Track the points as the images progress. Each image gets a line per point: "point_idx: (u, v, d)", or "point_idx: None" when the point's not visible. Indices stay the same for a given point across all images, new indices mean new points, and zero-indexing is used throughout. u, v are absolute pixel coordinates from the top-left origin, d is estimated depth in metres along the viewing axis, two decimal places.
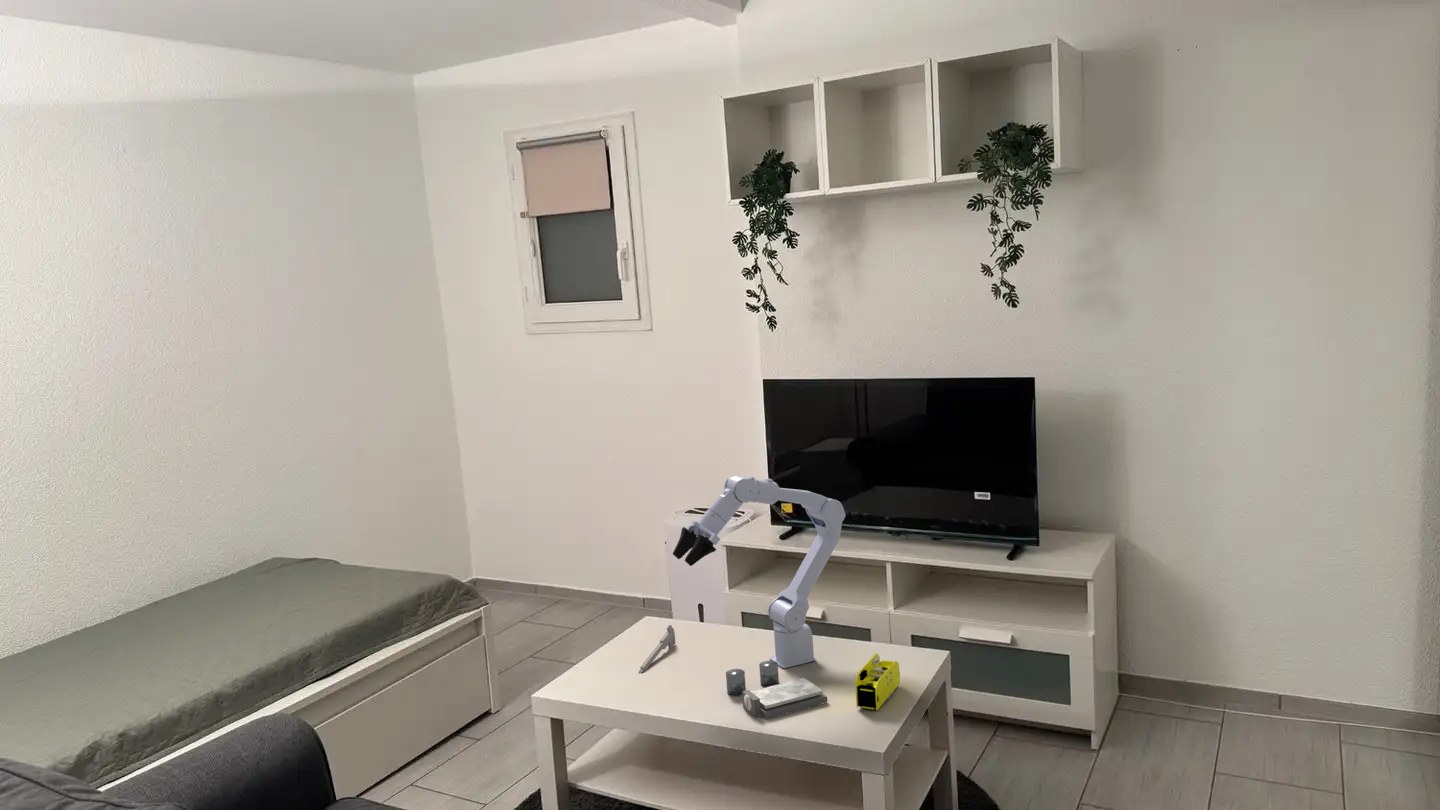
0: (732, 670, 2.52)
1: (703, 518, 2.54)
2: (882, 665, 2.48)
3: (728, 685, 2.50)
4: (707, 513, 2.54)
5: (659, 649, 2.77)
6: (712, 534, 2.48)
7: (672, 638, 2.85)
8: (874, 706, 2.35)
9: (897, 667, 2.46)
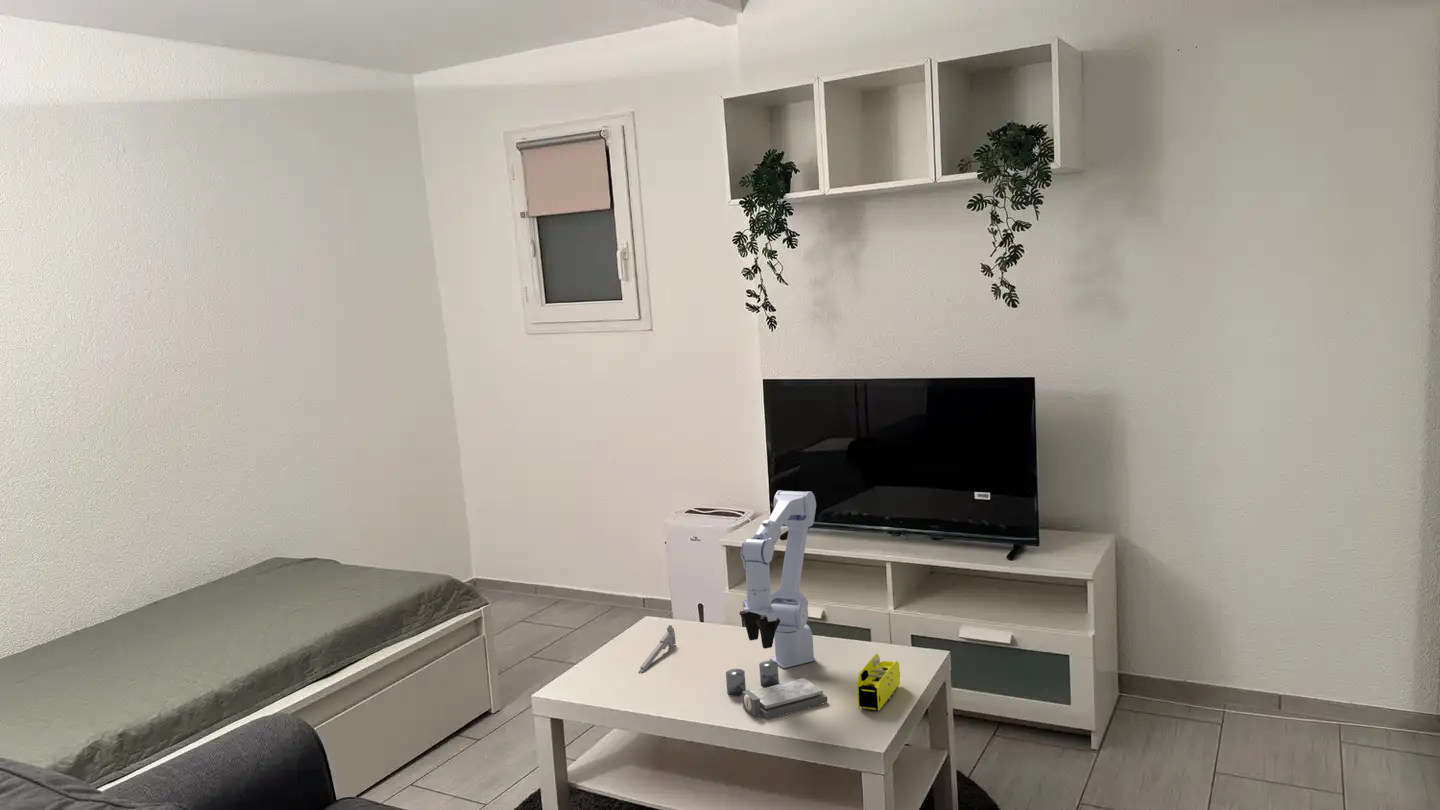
0: (732, 670, 2.52)
1: (749, 601, 2.50)
2: (882, 665, 2.48)
3: (728, 685, 2.50)
4: (748, 594, 2.50)
5: (659, 649, 2.77)
6: (767, 614, 2.45)
7: (672, 638, 2.85)
8: (876, 706, 2.34)
9: (897, 667, 2.46)
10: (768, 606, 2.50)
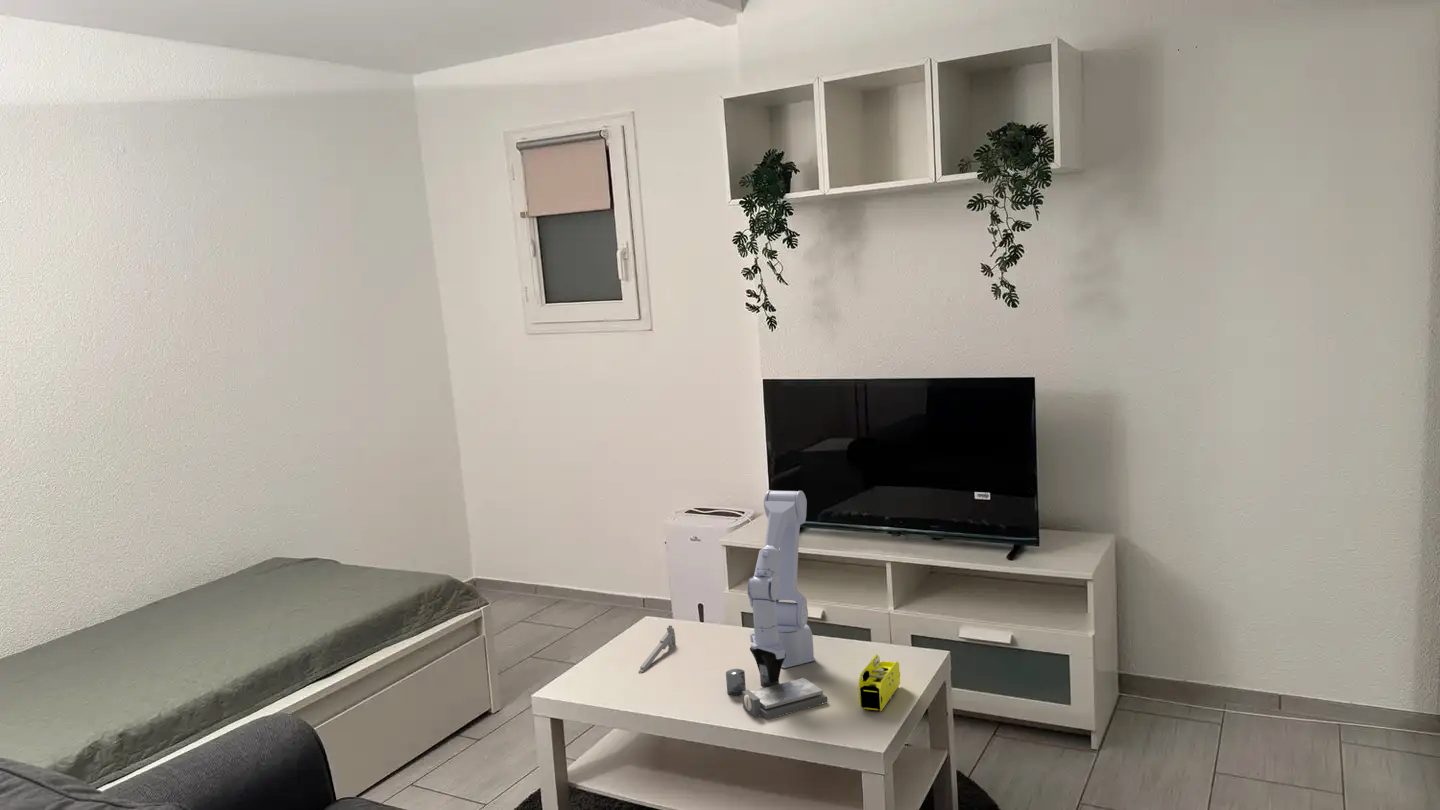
0: (732, 670, 2.52)
1: (757, 637, 2.52)
2: (882, 666, 2.48)
3: (728, 685, 2.50)
4: (756, 631, 2.51)
5: (659, 649, 2.77)
6: (775, 652, 2.47)
7: (672, 638, 2.85)
8: (878, 707, 2.34)
9: (897, 667, 2.46)
10: (776, 642, 2.52)
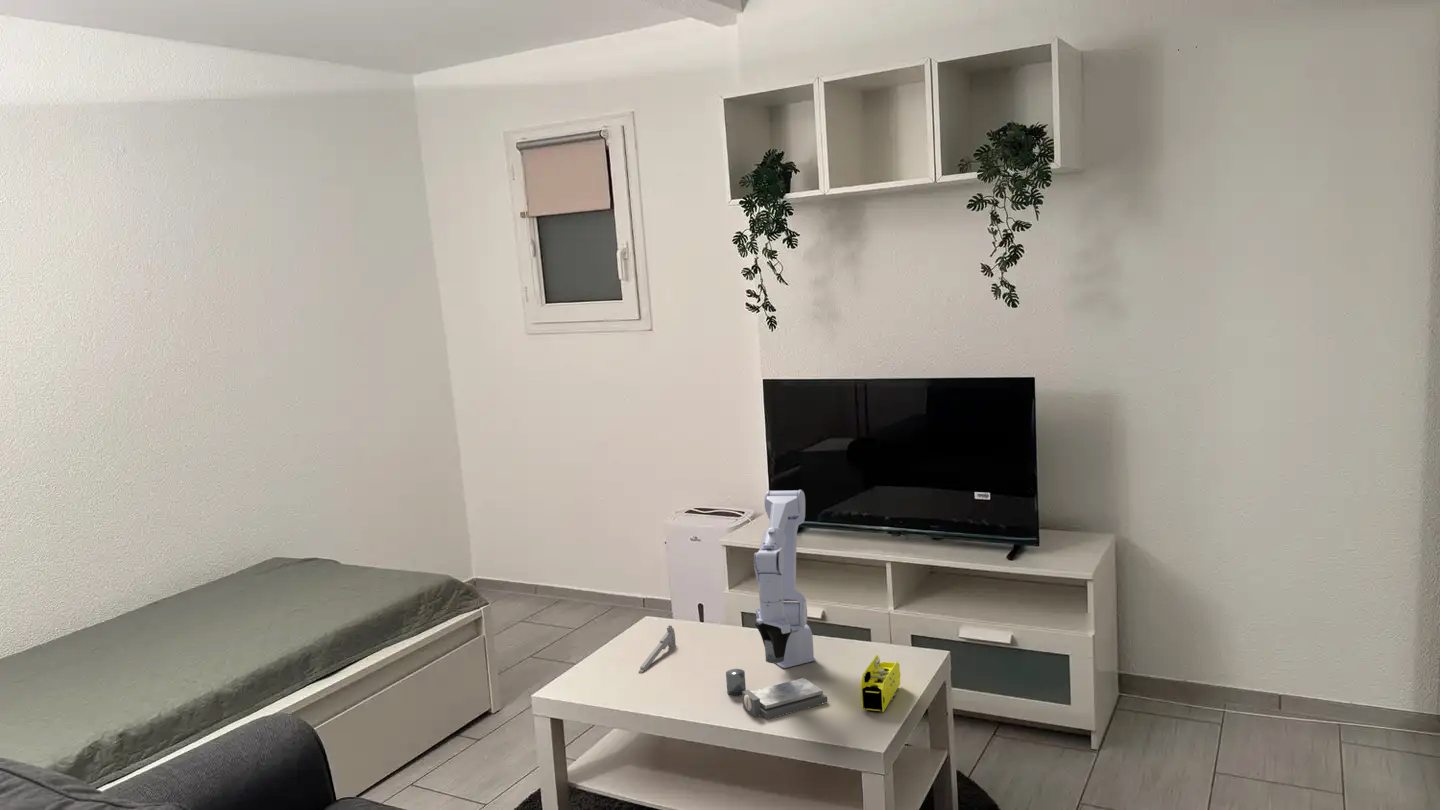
0: (732, 670, 2.52)
1: (762, 612, 2.48)
2: (882, 666, 2.47)
3: (728, 685, 2.50)
4: (762, 606, 2.48)
5: (659, 649, 2.77)
6: (780, 626, 2.44)
7: (672, 638, 2.85)
8: (880, 708, 2.34)
9: (898, 668, 2.46)
10: (782, 617, 2.48)
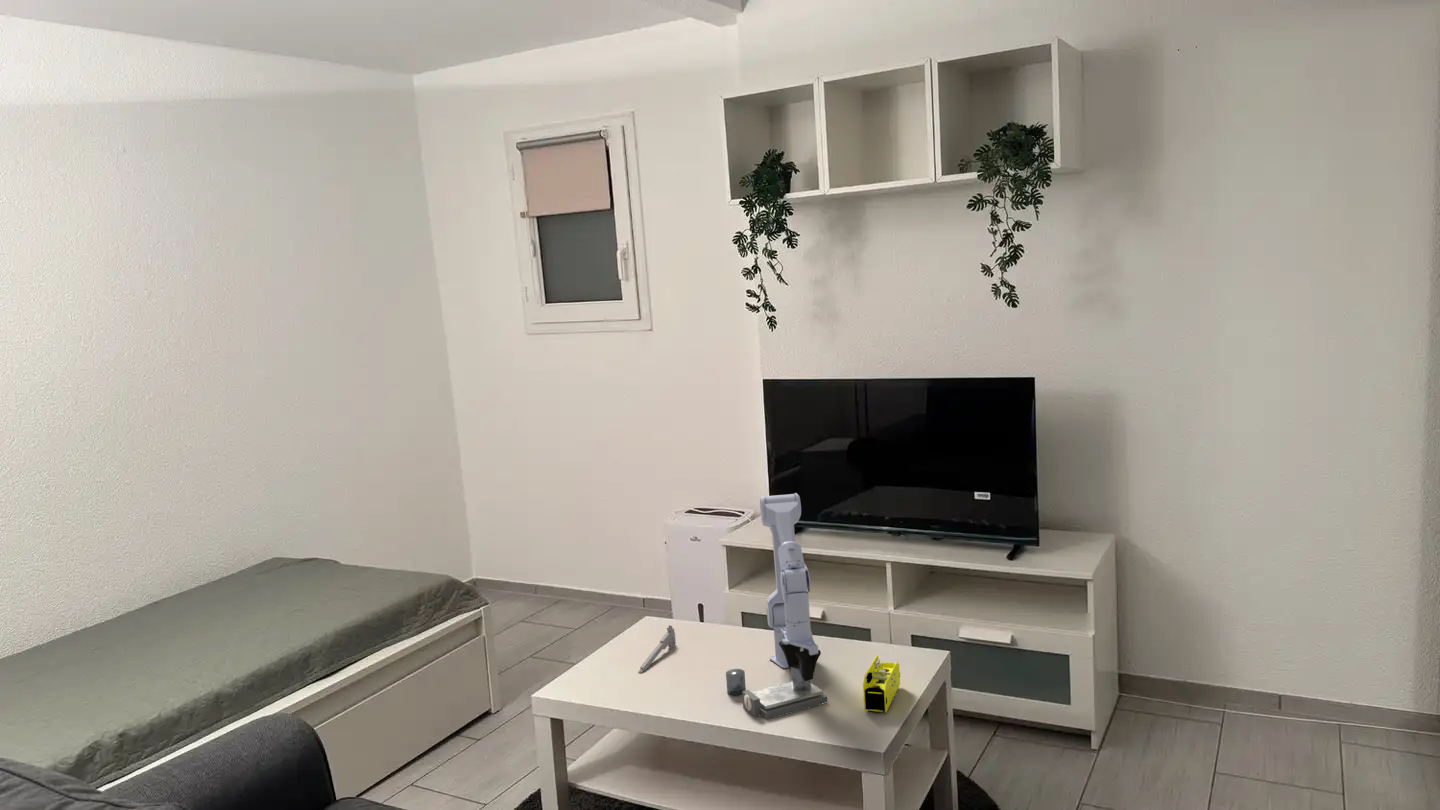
0: (732, 670, 2.52)
1: (788, 633, 2.41)
2: (882, 667, 2.47)
3: (728, 685, 2.50)
4: (788, 626, 2.41)
5: (659, 649, 2.77)
6: (808, 648, 2.37)
7: (672, 638, 2.85)
8: (883, 708, 2.33)
9: (898, 668, 2.46)
10: (808, 637, 2.41)
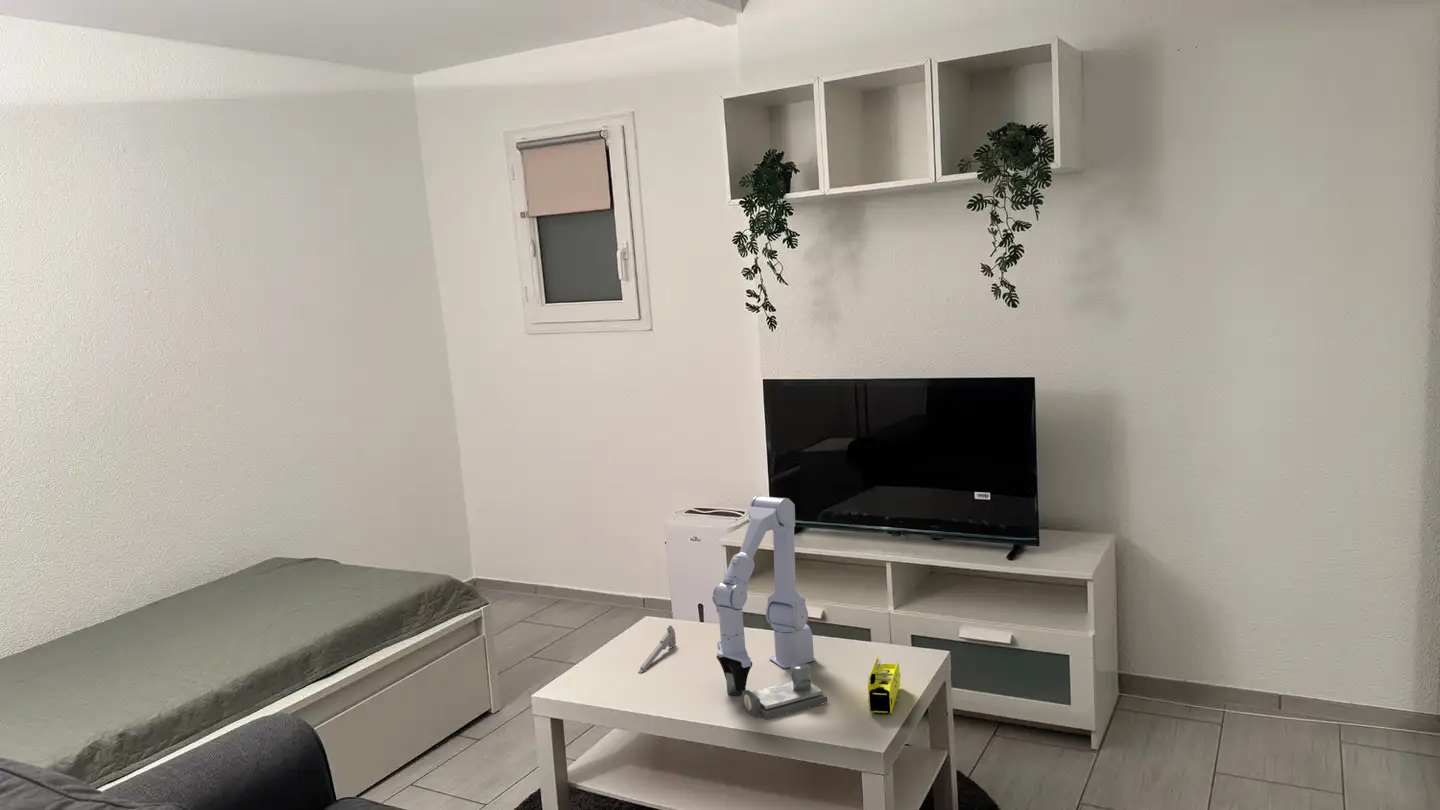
0: None
1: (723, 645, 2.48)
2: (882, 668, 2.46)
3: (728, 685, 2.50)
4: (722, 639, 2.48)
5: (659, 649, 2.77)
6: (741, 660, 2.44)
7: (672, 638, 2.85)
8: (888, 709, 2.32)
9: (898, 669, 2.45)
10: (742, 650, 2.48)
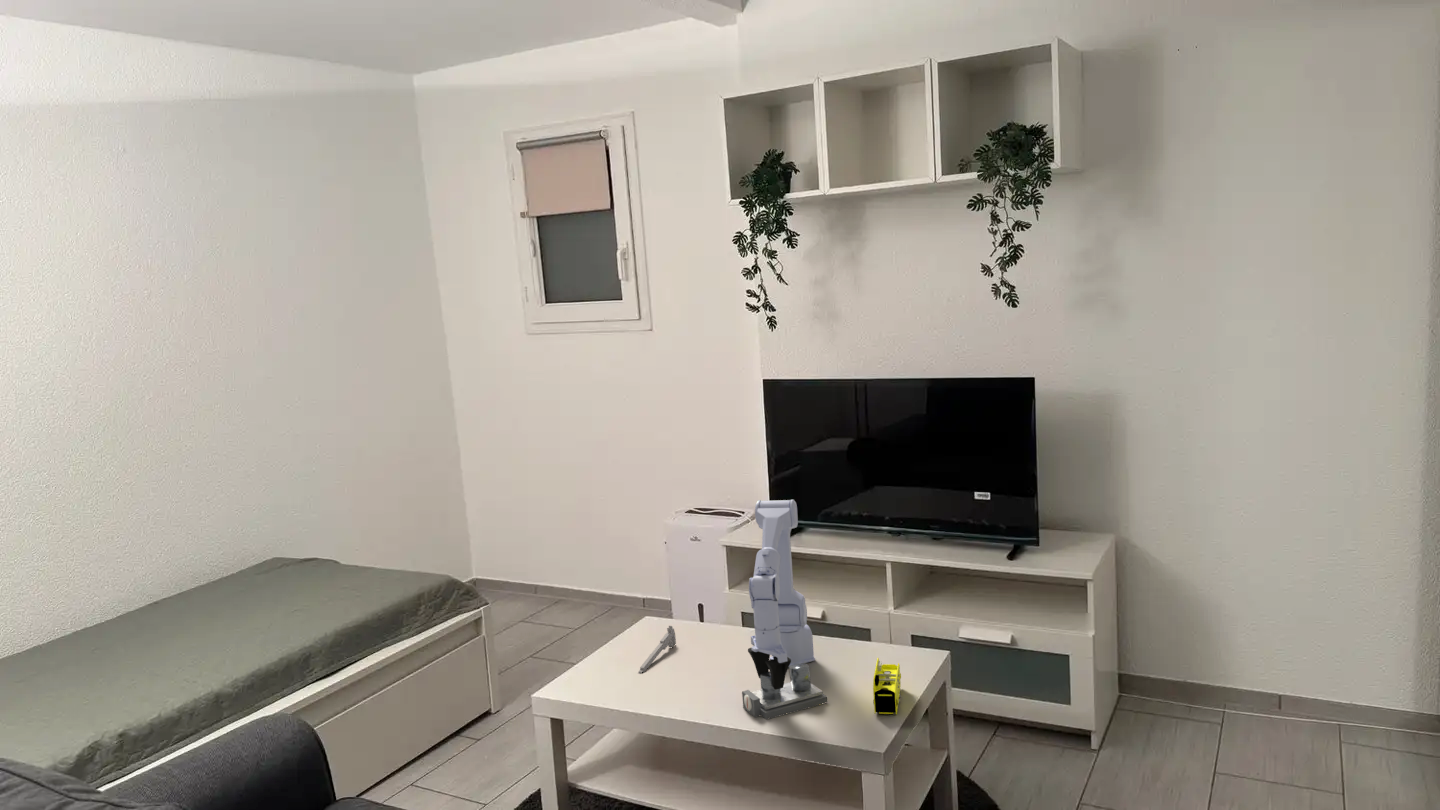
0: (766, 672, 2.42)
1: (757, 640, 2.38)
2: (883, 669, 2.46)
3: (762, 688, 2.40)
4: (757, 633, 2.38)
5: (659, 649, 2.77)
6: (777, 655, 2.34)
7: (672, 638, 2.85)
8: (893, 710, 2.32)
9: (899, 669, 2.45)
10: (778, 645, 2.38)
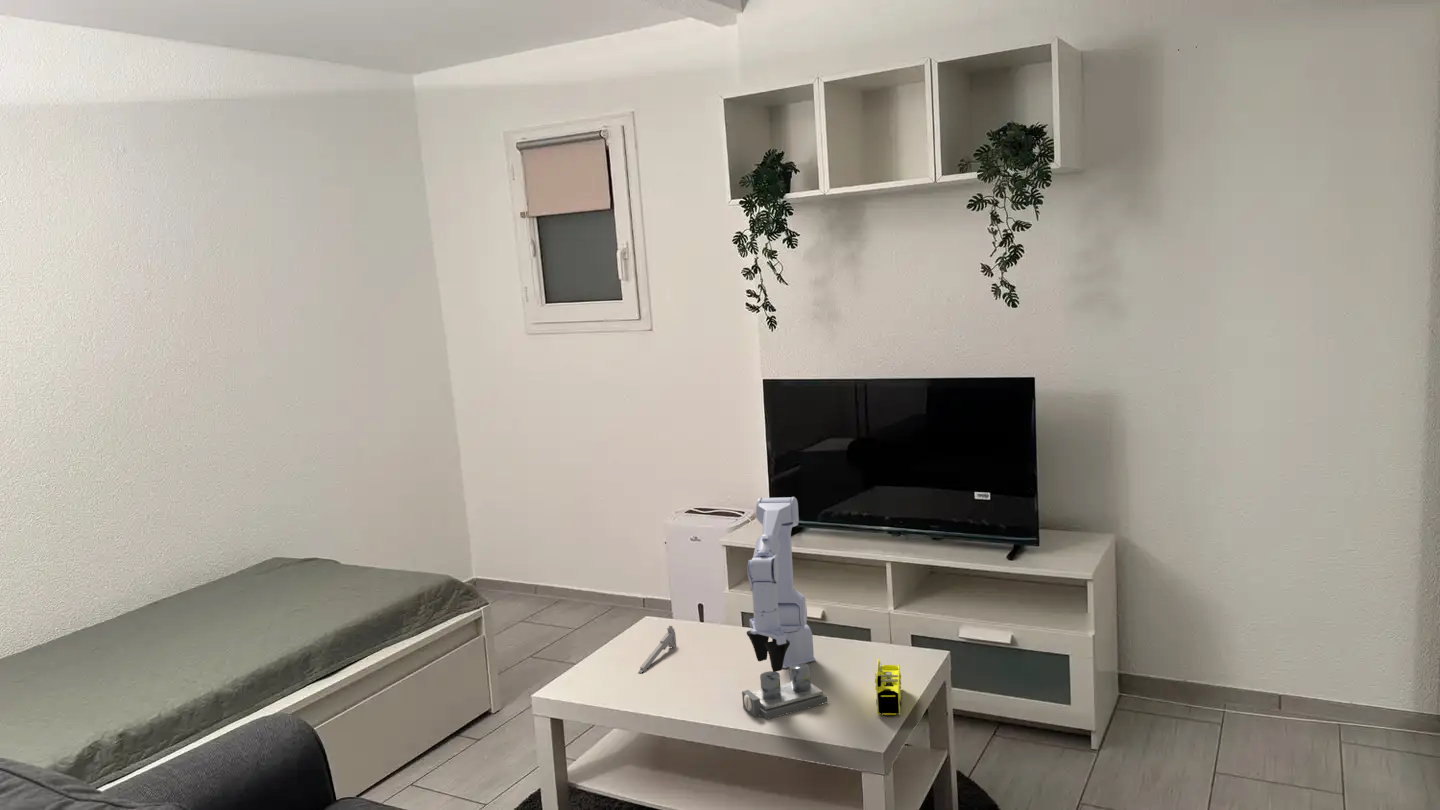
0: (766, 672, 2.42)
1: (756, 622, 2.37)
2: (883, 670, 2.45)
3: (762, 688, 2.40)
4: (756, 615, 2.37)
5: (659, 649, 2.76)
6: (776, 637, 2.33)
7: (673, 639, 2.84)
8: (896, 711, 2.31)
9: None
10: (777, 627, 2.37)
